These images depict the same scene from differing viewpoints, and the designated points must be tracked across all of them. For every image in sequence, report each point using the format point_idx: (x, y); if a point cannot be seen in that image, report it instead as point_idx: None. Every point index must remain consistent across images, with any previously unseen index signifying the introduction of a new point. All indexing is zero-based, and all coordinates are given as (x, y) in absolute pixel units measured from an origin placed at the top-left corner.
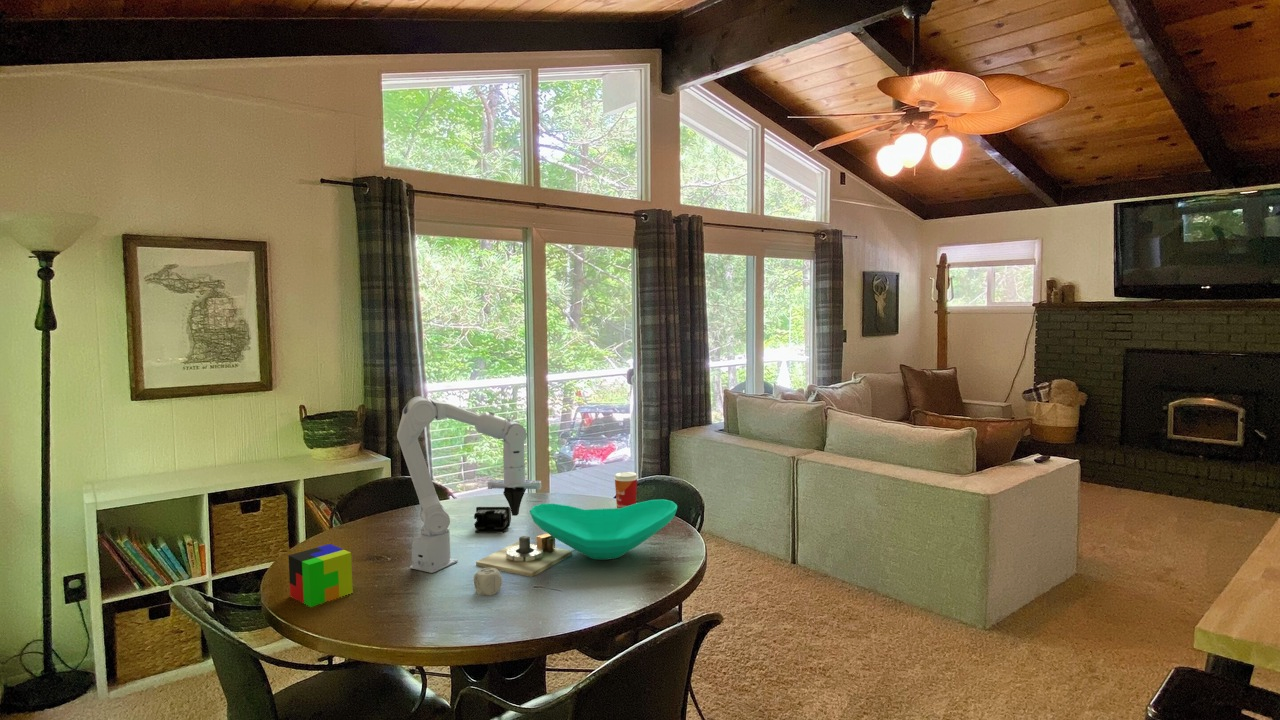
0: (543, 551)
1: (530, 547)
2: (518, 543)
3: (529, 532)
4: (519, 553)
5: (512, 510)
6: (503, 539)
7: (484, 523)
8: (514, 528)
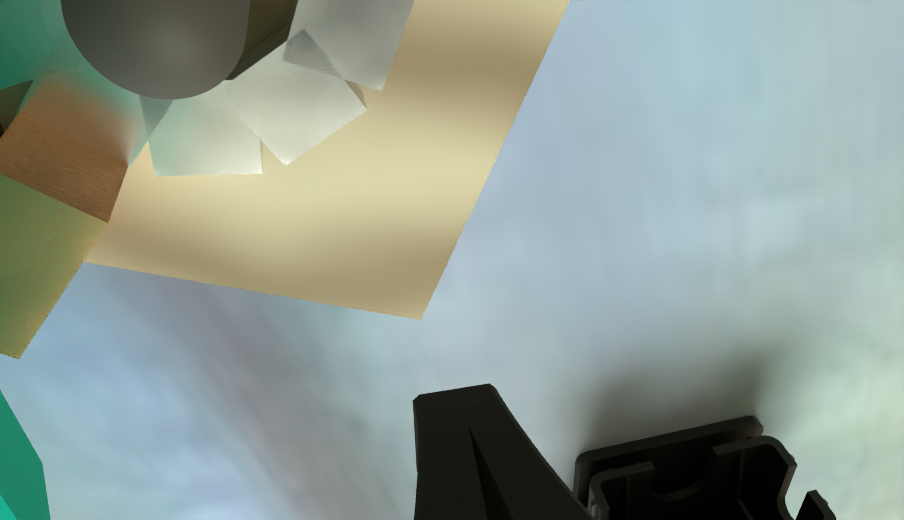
0: None
1: None
2: (404, 276)
3: None
4: None
5: (502, 444)
6: (560, 364)
7: (724, 501)
8: None
